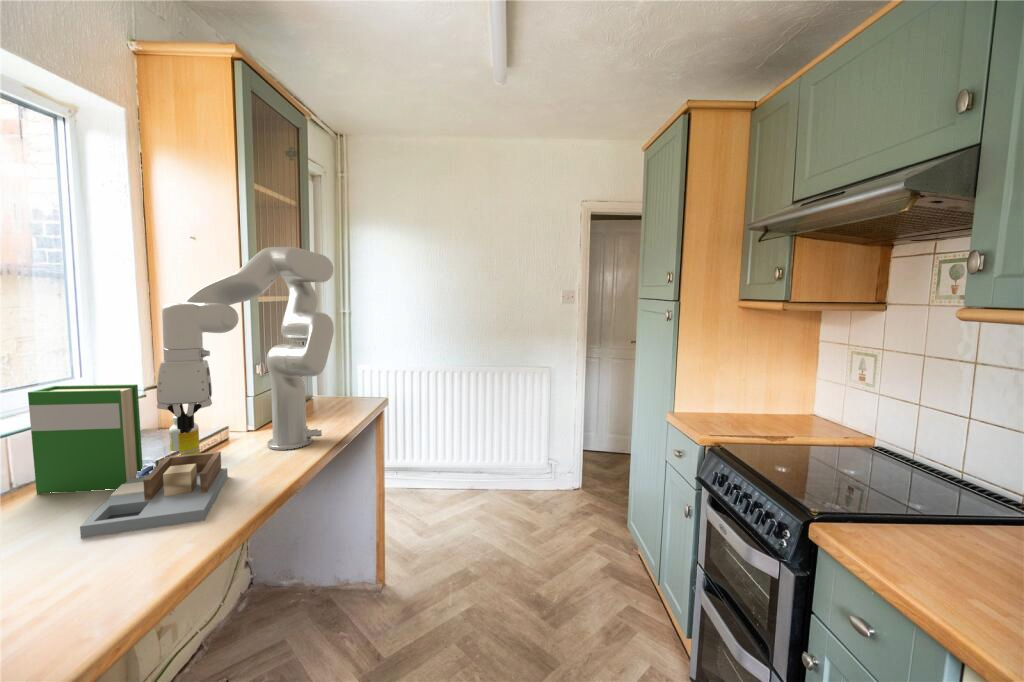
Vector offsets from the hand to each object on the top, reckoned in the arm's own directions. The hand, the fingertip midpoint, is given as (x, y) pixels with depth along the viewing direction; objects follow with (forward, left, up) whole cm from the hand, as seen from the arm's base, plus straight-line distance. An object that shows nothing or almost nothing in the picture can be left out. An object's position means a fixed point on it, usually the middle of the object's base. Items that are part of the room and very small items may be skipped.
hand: (186, 431), depth 107 cm
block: (0, +7, -12) cm, 14 cm away
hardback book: (+22, -9, -14) cm, 28 cm away
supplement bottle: (+6, -21, -14) cm, 26 cm away
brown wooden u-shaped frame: (0, +3, -12) cm, 12 cm away
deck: (+3, +8, -14) cm, 16 cm away
